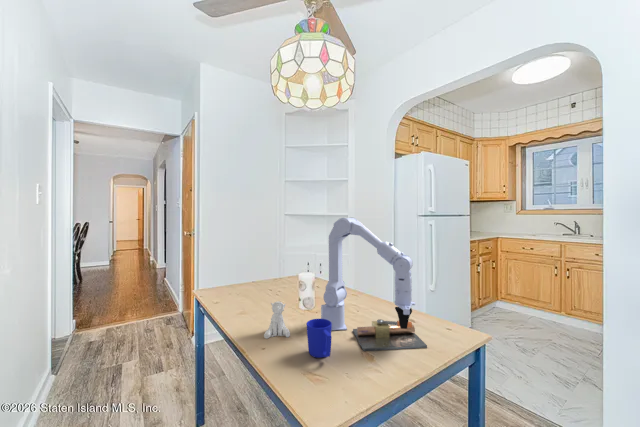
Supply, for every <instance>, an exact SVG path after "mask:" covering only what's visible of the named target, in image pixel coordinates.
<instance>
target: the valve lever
mask: <svg viewBox="0 0 640 427" xmlns="http://www.w3.org/2000/svg"><path fill="white" fill-rule="evenodd" d="M376 321H377V324H379V325H383V324H388V325H389V326H393V325H397V326H399V327H400V324H399V320H396V321H393V320H384V319H377V320H376ZM412 325H413V322H412V321H409V320H408V326H407V327H411V328H412Z"/></svg>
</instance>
